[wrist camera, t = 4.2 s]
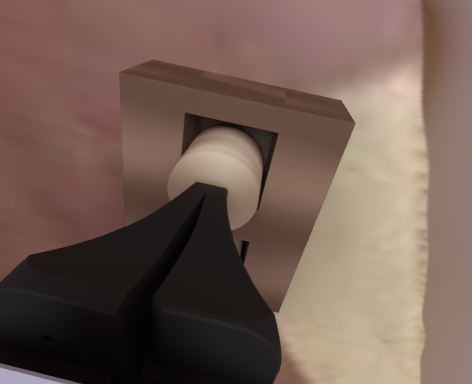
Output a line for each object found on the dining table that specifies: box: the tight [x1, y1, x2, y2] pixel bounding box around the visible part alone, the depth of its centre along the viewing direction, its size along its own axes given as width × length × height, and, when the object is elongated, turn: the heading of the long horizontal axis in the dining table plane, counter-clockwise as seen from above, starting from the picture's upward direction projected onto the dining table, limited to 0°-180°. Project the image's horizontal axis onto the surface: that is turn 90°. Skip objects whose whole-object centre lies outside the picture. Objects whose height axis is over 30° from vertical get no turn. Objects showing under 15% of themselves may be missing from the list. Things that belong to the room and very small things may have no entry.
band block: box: [119, 60, 356, 313], centre depth 19 cm, size 14×11×4 cm
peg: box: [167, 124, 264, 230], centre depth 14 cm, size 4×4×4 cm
